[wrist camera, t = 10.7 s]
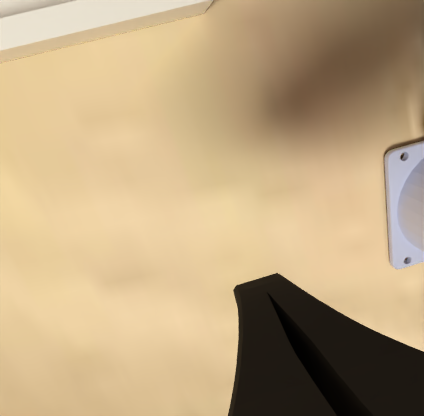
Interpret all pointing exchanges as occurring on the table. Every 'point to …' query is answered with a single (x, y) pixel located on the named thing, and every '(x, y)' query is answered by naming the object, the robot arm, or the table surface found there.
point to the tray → (81, 21)
